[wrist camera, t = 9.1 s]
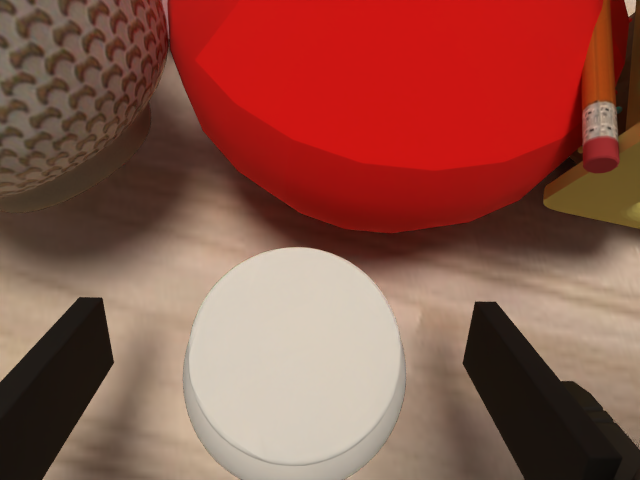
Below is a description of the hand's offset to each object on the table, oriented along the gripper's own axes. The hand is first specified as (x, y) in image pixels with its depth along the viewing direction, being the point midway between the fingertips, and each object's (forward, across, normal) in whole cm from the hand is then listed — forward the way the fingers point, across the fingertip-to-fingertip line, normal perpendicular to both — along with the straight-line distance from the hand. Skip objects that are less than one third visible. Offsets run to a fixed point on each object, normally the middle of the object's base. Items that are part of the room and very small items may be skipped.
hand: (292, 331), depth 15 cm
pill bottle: (+3, 0, -5) cm, 6 cm away
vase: (+13, +4, +5) cm, 14 cm away
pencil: (+6, +11, +13) cm, 18 cm away
